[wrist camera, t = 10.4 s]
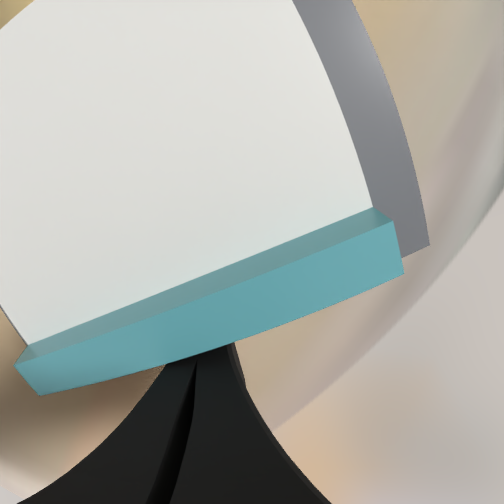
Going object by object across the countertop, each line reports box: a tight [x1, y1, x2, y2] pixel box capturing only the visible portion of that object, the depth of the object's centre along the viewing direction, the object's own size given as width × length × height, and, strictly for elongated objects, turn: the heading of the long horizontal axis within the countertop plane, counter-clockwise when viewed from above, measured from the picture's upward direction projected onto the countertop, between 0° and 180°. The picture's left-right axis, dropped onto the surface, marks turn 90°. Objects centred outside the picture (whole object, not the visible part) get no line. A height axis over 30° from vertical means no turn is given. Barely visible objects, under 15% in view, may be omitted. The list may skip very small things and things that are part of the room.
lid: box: [0, 0, 404, 396], centre depth 6 cm, size 10×9×2 cm
